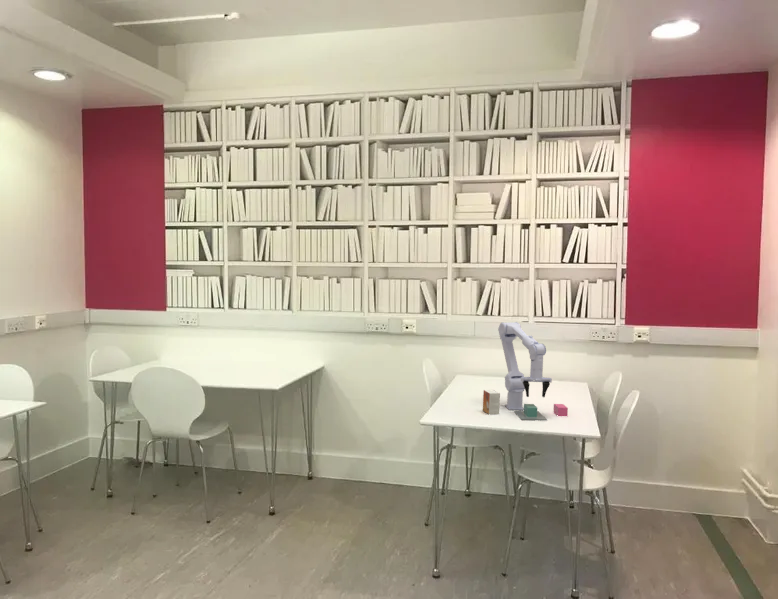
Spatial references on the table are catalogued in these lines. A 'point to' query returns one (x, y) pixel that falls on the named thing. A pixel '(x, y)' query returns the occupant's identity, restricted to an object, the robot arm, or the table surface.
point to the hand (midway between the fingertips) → (535, 396)
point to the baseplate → (524, 417)
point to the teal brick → (530, 410)
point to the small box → (491, 401)
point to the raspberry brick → (560, 410)
